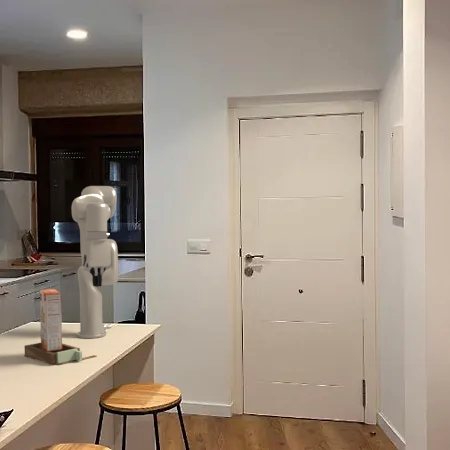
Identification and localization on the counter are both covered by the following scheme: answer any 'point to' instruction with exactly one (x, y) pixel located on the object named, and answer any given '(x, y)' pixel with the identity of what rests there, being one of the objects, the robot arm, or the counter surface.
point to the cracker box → (51, 319)
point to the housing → (48, 353)
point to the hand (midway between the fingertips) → (97, 286)
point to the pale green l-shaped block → (69, 355)
